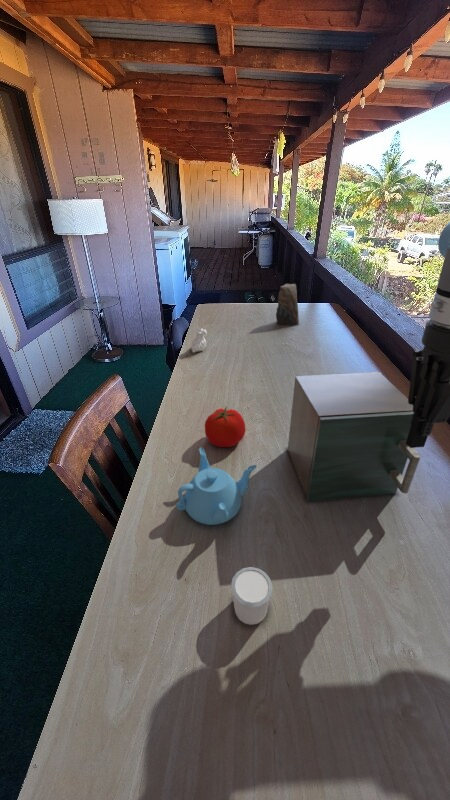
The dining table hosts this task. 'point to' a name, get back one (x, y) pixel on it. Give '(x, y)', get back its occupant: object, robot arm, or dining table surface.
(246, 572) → the glass of milk
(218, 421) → the tomato
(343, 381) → the cupboard
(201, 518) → the teapot
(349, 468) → the cupboard door
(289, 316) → the brown rock
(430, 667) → the dining table surface
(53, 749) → the dining table surface
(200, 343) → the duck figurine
